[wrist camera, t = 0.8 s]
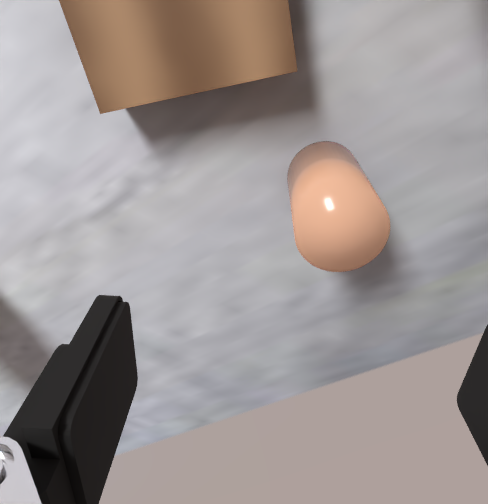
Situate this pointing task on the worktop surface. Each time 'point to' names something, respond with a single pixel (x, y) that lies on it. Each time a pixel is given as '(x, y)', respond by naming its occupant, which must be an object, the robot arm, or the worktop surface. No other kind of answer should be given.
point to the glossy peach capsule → (335, 209)
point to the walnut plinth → (177, 46)
